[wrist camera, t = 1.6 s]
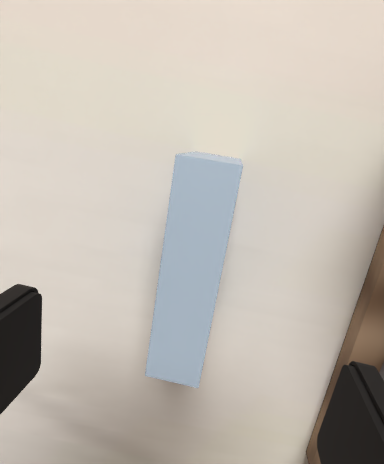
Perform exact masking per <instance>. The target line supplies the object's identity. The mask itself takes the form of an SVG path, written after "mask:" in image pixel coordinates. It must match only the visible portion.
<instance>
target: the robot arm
mask: <svg viewBox="0 0 384 464" xmlns="http://www.w3.org/2000/svg"><path fill="white" fill-rule="evenodd" d="M41 320H42V296H41V294H39V293H38V290H37V289H36V288H34V287H29V286H25V285H21V284H17V285H14V286H13V287H11V288H9V289H8V290H6V291H5V292H3V293H1V294H0V414H1V413H2V412H3V411H4V410H5V409H6V408H7V407H8V406H9V404H10V403H11V402H12V401H13V400H14V399H15V398H16V397H17V396H18V394H19V393H20V392H21V391H22V390H23V389H24V388H25V387H26V386H27V384H28V383H29V382H30V381H31V380H32V379H33V378H34V377H35V375H36V374H37V372H38V371H39V368H40V364H41ZM317 450H318V454H319V458H320V462H321V464H384V380H383V378H382V377H381V375H380V373H379V372H378V370H377V368H376V367H375V366H373V365H368V364H364V363H360V362H355V361H351V362H350V363H349V365H343V366H342V369H341V371H340V374H339V377H338V380H337V382H336V385H335V388H334V391H333V394H332V396H331V399H330V402H329V405H328V408H327V410H326V413H325V416H324V419H323V422H322V424H321V427H320V430H319V433H318V436H317Z"/></svg>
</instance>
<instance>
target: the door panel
mask: <svg viewBox="0 0 384 464" xmlns="http://www.w3.org/2000/svg"><path fill="white" fill-rule="evenodd" d="M242 168H243V164H242V162H241V159H238V158H232V157H226V156H220V155H214V154H208V153H202V152H190V153H182V154H176V157H175V164H174V171H173V179H172V186H171V193H170V200H169V207H168V214H167V222H166V229H165V236H164V243H163V250H162V257H161V265H160V272H159V279H158V286H157V293H156V300H155V308H154V315H153V322H152V329H151V336H150V343H149V351H148V358H147V365H146V372H145V376H148V377H152V378H156V379H161V380H165V381H169V382H174V383H178V384H182V385H186V386H191V387H195V388H199V383H200V378H201V373H202V368H203V363H204V358H205V353H206V348H207V343H208V338H209V333H210V328H211V323H212V318H213V313H214V308H215V303H216V298H217V293H218V288H219V283H220V278H221V273H222V268H223V263H224V258H225V253H226V248H227V243H228V238H229V233H230V228H231V223H232V218H233V213H234V208H235V203H236V198H237V193H238V188H239V183H240V178H241V173H242Z"/></svg>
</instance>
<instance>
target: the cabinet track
mask: <svg viewBox="0 0 384 464" xmlns="http://www.w3.org/2000/svg"><path fill="white" fill-rule="evenodd" d="M351 361H355V362H360V363H364V364H368V365H373V366H375V367H376V368H377V370H378V372H379V373H380V375H381V377H382V378H383V380H384V227H383V230H382V233H381V235H380V238H379V241H378V244H377V247H376V250H375V253H374V256H373V259H372V262H371V265H370V267H369V270H368V273H367V276H366V279H365V282H364V285H363V288H362V291H361V294H360V296H359V299H358V302H357V305H356V308H355V311H354V314H353V317H352V320H351V323H350V326H349V328H348V331H347V334H346V337H345V340H344V343H343V346H342V349H341V352H340V355H339V358H338V360H337V363H336V366H335V369H334V372H333V375H332V378H331V381H330V384H329V387H328V390H327V392H326V395H325V398H324V401H323V404H322V407H321V410H320V413H319V416H318V419H317V421H316V424H315V427H314V430H313V433H312V436H311V439H310V442H309V445H308V448H307V451H306V454H307V458H308V463H309V464H321V462H320V458H319V454H318V450H317V436H318V433H319V430H320V427H321V424H322V422H323V419H324V416H325V413H326V410H327V408H328V405H329V402H330V399H331V396H332V394H333V391H334V388H335V385H336V382H337V380H338V377H339V374H340V371H341V369H342V366H343V365H349V363H350V362H351Z"/></svg>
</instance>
